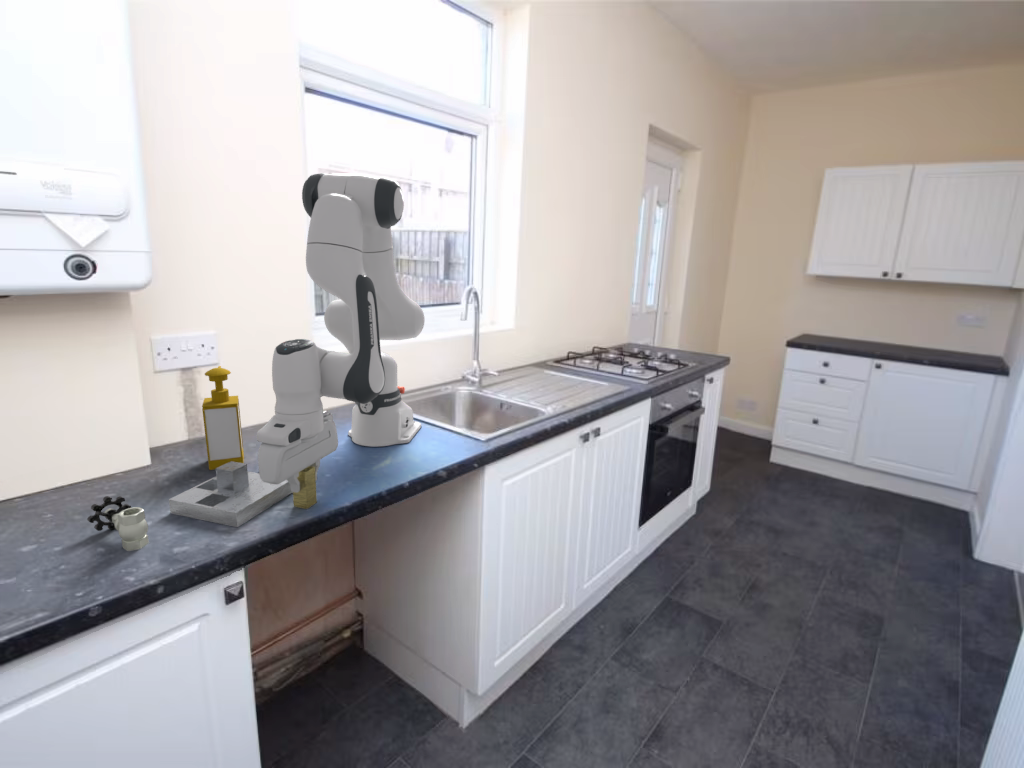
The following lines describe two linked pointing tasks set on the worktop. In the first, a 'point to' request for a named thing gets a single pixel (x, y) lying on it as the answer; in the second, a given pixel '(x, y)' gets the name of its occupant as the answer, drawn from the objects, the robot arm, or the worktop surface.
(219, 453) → the soap bottle
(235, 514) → the square plinth with cube
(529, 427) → the worktop surface
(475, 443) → the worktop surface
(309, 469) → the yellow rectangular block
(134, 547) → the valve
